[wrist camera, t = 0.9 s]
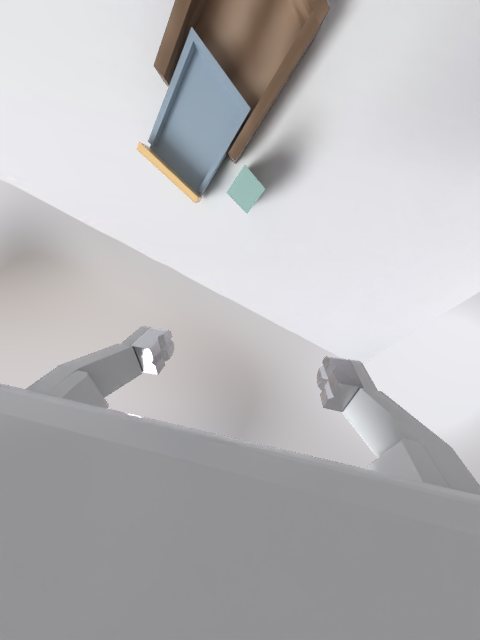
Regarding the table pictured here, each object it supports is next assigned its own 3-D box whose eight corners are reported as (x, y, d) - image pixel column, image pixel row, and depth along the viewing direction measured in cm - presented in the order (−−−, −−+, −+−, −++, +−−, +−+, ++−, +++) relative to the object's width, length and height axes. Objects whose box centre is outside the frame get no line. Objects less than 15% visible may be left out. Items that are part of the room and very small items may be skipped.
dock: (164, 82, 30) (153, 65, 26) (239, -121, 21) (240, -196, 17) (235, 163, 36) (235, 160, 32) (315, 35, 27) (329, 8, 23)
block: (228, 192, 39) (226, 192, 31) (243, 170, 37) (244, 164, 29) (245, 209, 41) (247, 213, 33) (259, 189, 39) (265, 189, 31)
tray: (148, 154, 34) (136, 149, 30) (194, 38, 26) (186, 10, 22) (199, 201, 39) (195, 203, 35) (250, 115, 31) (252, 103, 27)
